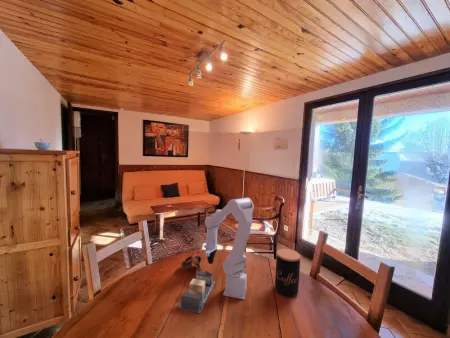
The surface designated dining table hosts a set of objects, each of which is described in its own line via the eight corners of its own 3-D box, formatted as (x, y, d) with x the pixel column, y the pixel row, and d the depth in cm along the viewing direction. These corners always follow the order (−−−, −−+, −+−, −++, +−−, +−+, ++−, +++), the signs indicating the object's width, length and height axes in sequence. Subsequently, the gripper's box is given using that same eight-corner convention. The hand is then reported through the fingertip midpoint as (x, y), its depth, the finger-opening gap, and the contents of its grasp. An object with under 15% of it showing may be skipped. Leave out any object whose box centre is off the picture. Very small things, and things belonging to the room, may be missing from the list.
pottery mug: (195, 278, 101) (187, 264, 101) (183, 280, 106) (176, 266, 106) (208, 262, 111) (201, 249, 111) (196, 264, 116) (189, 252, 116)
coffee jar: (272, 293, 92) (274, 255, 91) (277, 281, 101) (279, 246, 100) (296, 301, 87) (298, 262, 86) (299, 288, 96) (301, 252, 95)
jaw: (214, 277, 101) (215, 268, 101) (210, 285, 94) (211, 276, 94) (200, 274, 103) (200, 266, 103) (195, 282, 96) (195, 273, 96)
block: (204, 291, 90) (205, 280, 90) (202, 297, 86) (202, 286, 86) (192, 288, 91) (192, 278, 91) (189, 294, 88) (189, 283, 87)
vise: (215, 282, 98) (215, 272, 98) (200, 313, 78) (201, 301, 78) (196, 278, 100) (196, 269, 100) (177, 308, 80) (177, 296, 80)
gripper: (208, 232, 114) (207, 255, 115) (199, 243, 100) (198, 269, 100) (220, 234, 112) (219, 257, 113) (213, 245, 98) (212, 271, 99)
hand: (210, 263), depth 107 cm, fingers closed
